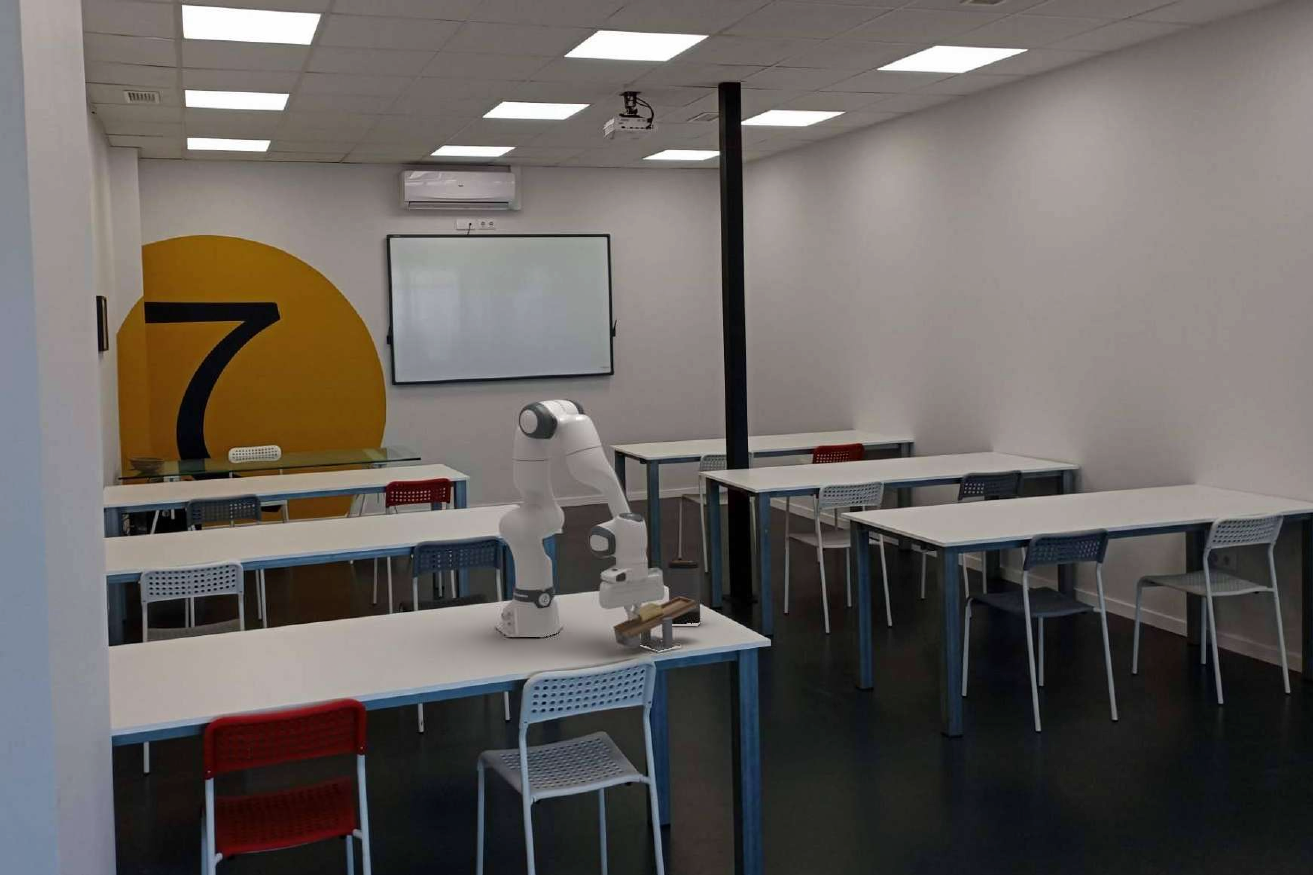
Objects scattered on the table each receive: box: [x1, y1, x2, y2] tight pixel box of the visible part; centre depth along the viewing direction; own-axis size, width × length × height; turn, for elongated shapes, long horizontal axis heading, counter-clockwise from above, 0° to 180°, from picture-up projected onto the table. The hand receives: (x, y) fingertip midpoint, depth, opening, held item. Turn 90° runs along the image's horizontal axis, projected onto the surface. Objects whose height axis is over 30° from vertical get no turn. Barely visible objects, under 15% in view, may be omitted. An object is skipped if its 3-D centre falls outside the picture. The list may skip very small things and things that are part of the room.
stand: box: [640, 617, 682, 651], centre depth 322 cm, size 13×8×9 cm, turn 36°
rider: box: [631, 602, 663, 625], centre depth 320 cm, size 5×7×4 cm
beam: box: [613, 596, 697, 650], centre depth 322 cm, size 8×24×5 cm, turn 126°
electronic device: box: [667, 558, 701, 624], centre depth 345 cm, size 9×6×20 cm, turn 84°
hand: (632, 619), depth 317 cm, fingers closed
